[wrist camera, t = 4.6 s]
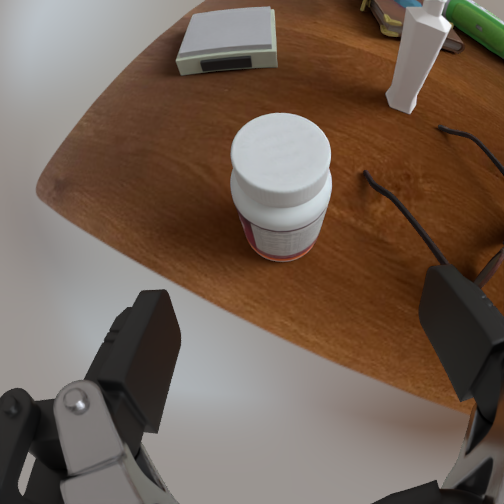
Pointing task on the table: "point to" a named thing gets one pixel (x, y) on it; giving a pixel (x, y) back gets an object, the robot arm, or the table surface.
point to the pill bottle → (281, 184)
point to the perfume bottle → (417, 52)
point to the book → (392, 20)
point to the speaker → (476, 23)
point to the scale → (229, 41)
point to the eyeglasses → (483, 275)
